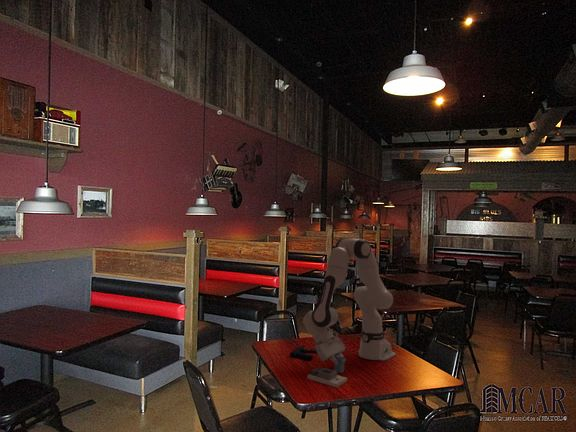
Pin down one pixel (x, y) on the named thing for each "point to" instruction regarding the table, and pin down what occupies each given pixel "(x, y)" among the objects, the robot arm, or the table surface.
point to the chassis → (326, 377)
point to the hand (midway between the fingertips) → (340, 362)
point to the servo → (340, 366)
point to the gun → (302, 353)
